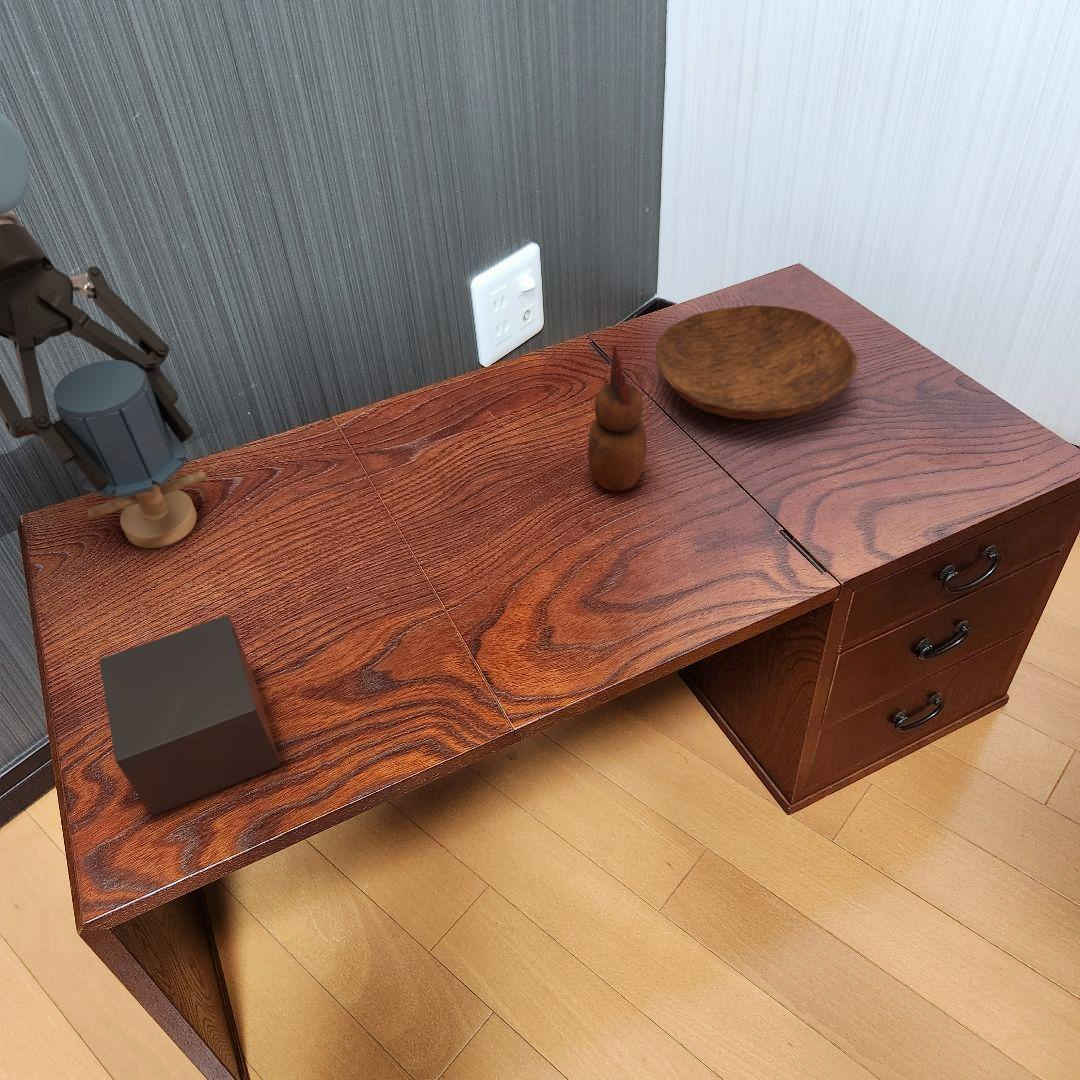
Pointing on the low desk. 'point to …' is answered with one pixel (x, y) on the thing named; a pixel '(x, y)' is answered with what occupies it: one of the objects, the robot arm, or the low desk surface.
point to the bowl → (755, 361)
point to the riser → (186, 715)
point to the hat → (119, 427)
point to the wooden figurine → (617, 433)
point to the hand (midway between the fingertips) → (146, 461)
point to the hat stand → (156, 513)
